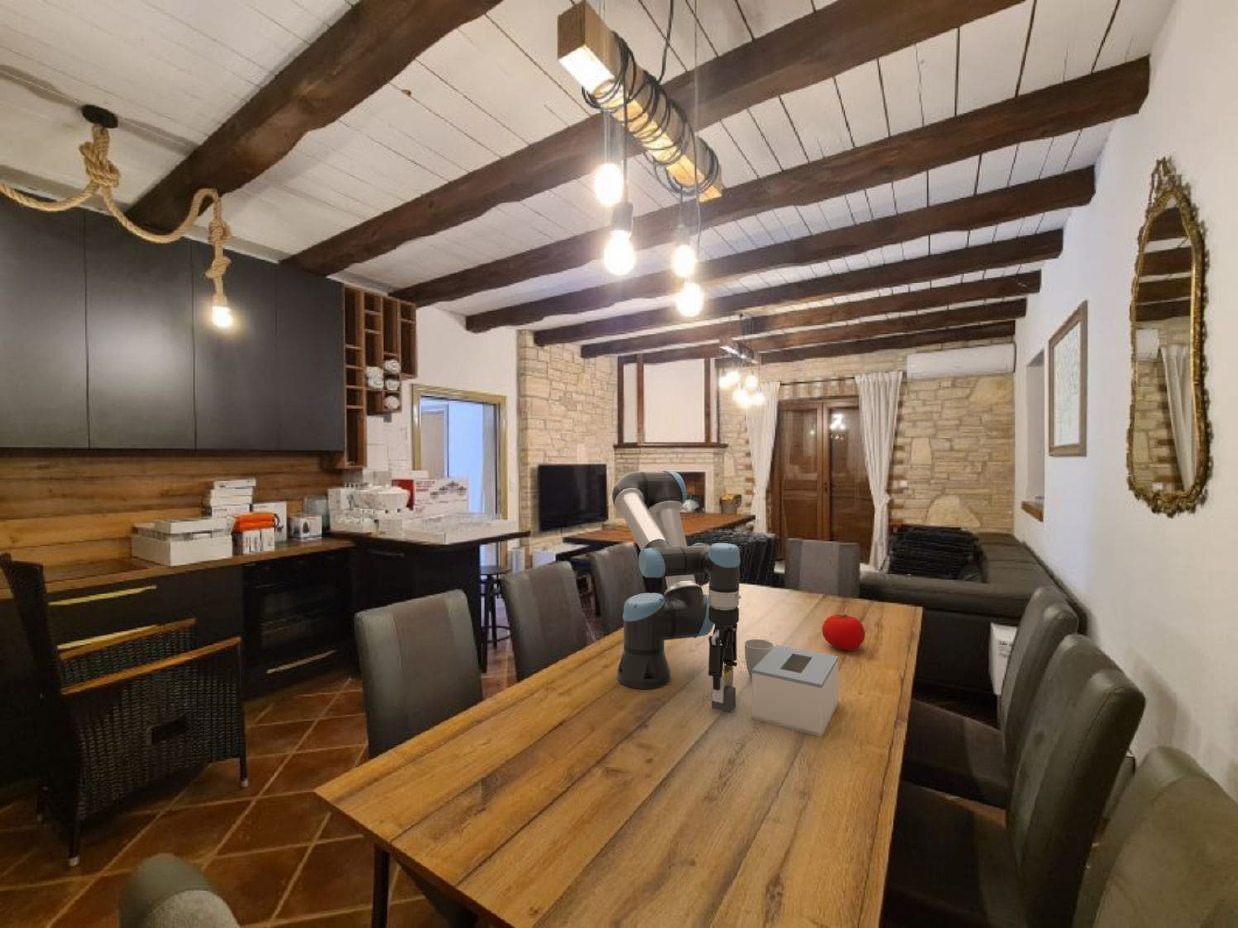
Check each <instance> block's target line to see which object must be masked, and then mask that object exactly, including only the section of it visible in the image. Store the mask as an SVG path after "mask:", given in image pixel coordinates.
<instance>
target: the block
mask: <svg viewBox="0 0 1238 928" xmlns="http://www.w3.org/2000/svg"><path fill="white" fill-rule="evenodd" d="M736 688H737V687H735V686H733V687H731V686H727V685H726V686H725V688H724V699H723V703H719V702H716V701H712V700H711V709H714V710H718V711H723V712H726V713H732V712H733V711H734V710H735V709H736V707H737V706H736V703H737V701H736V699H737V695H736V693H737V691H736V690H737V689H736Z"/></svg>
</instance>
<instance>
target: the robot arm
mask: <svg viewBox="0 0 1238 928" xmlns="http://www.w3.org/2000/svg"><path fill="white" fill-rule="evenodd" d="M686 499H687V488H686V484H685V482H684V479H683V477H682V476H681V475H680V473H677V472H675V471H668V470H663V471H631V472H628V473H626V474H624V475H622V477H620V478H619V479H618V480H617V481H616V483H615V484H614V487H613V489H612V504H613V506H614V508H615V510H616V511H617V512H618V513H619V514H620V515H622V516H623V518H624V520H625V523H626V524H627V526H628V527H629V531H630V532H631V534H632V536H633V538H634V540H635V542H636V543H637V546H638V547H639V549H640V552H639V555H638V567H639V570H640V574H641V575H642V576H643V577H645V578H656V579H659V578H665V582H666V586H667V589H666V590H665V592H664V594H661V593H659V592H651V593H650V592H643V593H639V594H636V595H632V596H631V597H629V598H628V599H626V600H625V601H624V605H623V614H622V619H623V650H622V651H623V652H622V654H621V655H622V656H621V657H620V662H619V665H618V667H617V681H618V682H619V683H620V684H622V685H624V686H626V687H629V688H633V689H638V690H639V689H642V690H643V689H645V690H647V689H648V690H649V689H656V688H657V689H658V688H662V687H664V686H666V685H667V684H668V683H669V682H670V681H671V668H670V666H669V665H670V664H669V662H668V658H667V655H666V653H665V641H670V640H671V641H672V640H680V639H681V640H683V639H691V638H693V639H696V638H700V637H705V636H707V635H709V634H710V632H712V629H713V632H712V635H709V636H708V643H709V644H708V645H709V647H708V648H709V649H708V650H709V651H708V672H707V673H708V674H707V675H708V676H709V677H711V679H712V680H711V682H712V683H711V684H712V685H711V702H712V701H716V702H719V703H723V699H724V676H722V672H723V665H724V666H729V667H737V666H738V662H737V660H738V659H737V657H738V648H737V646H738V645H737V644H738V642H737V640H738V639H737V632H738V631H737V630H738V623H739V621H740V608H739V607H738V606H739V604H740V599H741V597H742V596H741V595H740V577H741V576H740V575H741V574H740V573H741V572H740V571H741V558H740V548H739V547H738V546H737V544H734V543H733V544H732V543H727V542H716V543H712V544H708V543H703V542H702V543H701V542H697V543H694V544H692V545H691V546H688V544H687V539H686V535H685V531H684V527H683V523H682V518H681V513H680V512H682V510H683V507H684V506H683V505H684V504H685V503H686ZM695 575H705V576H707V577H708V594H704V591H703V587H702V586H701V585H700V584H698V583H696V578H695ZM713 627H714V628H713ZM727 686H731V687H734V678H733V679H732V680H731V681H730V682H729V683H728V684H727Z"/></svg>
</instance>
